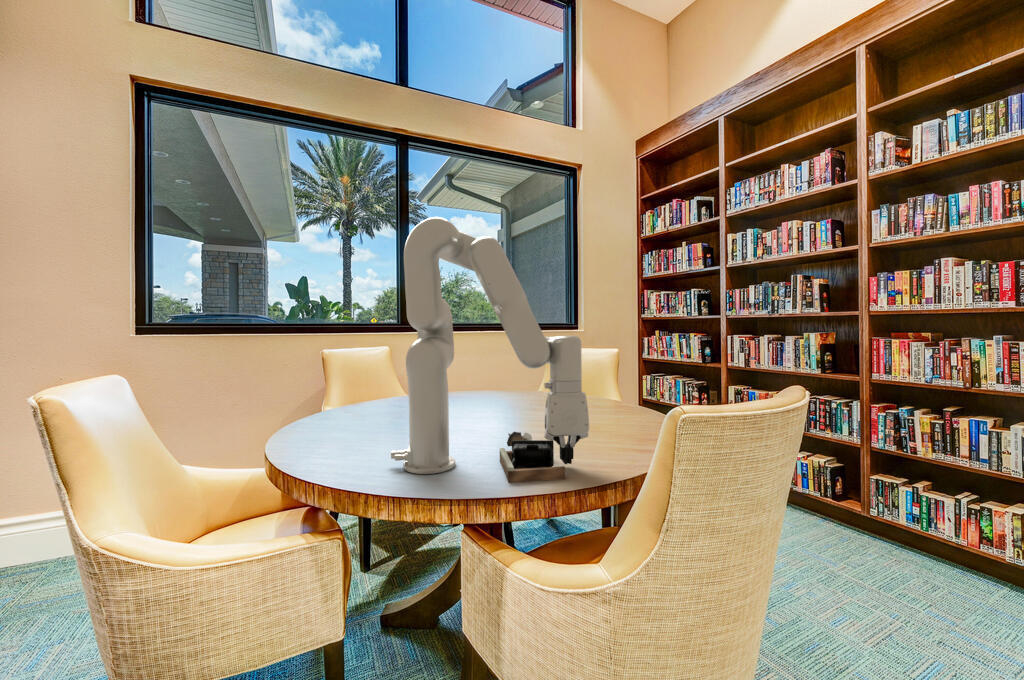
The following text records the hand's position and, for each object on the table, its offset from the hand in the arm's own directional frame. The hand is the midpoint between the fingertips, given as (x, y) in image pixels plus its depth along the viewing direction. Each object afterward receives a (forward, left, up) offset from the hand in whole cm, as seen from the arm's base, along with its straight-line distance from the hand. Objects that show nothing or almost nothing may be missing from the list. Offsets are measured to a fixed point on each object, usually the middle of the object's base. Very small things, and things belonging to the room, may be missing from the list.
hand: (566, 462), depth 107 cm
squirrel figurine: (-10, +13, -2) cm, 16 cm away
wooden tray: (-9, 0, -1) cm, 9 cm away
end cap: (-8, 0, -2) cm, 9 cm away
